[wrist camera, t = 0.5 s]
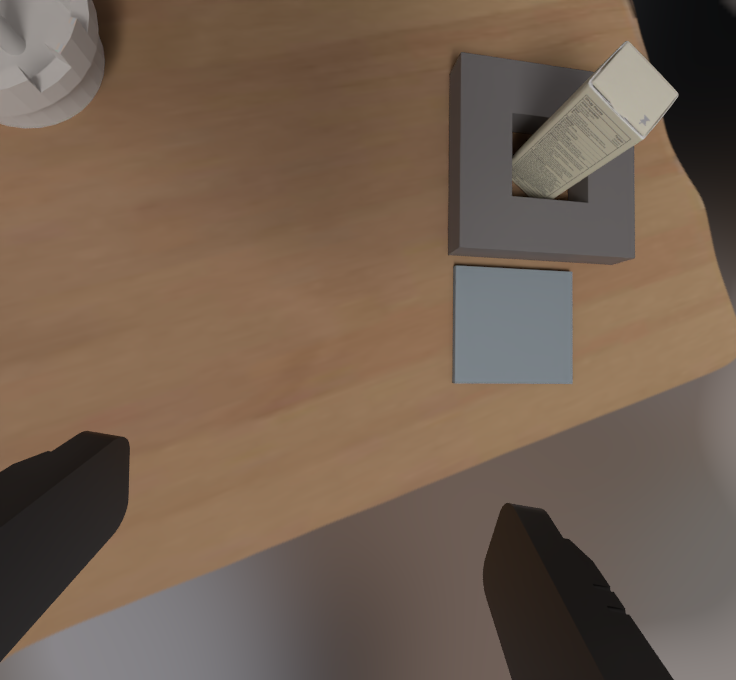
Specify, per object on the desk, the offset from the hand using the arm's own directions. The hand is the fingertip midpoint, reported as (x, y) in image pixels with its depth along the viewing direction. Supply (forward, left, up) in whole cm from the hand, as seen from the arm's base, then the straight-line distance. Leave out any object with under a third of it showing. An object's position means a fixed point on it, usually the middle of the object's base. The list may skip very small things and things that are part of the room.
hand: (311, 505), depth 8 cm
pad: (-6, +18, -23) cm, 29 cm away
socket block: (-20, +20, -23) cm, 36 cm away
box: (-20, +20, -23) cm, 36 cm away
